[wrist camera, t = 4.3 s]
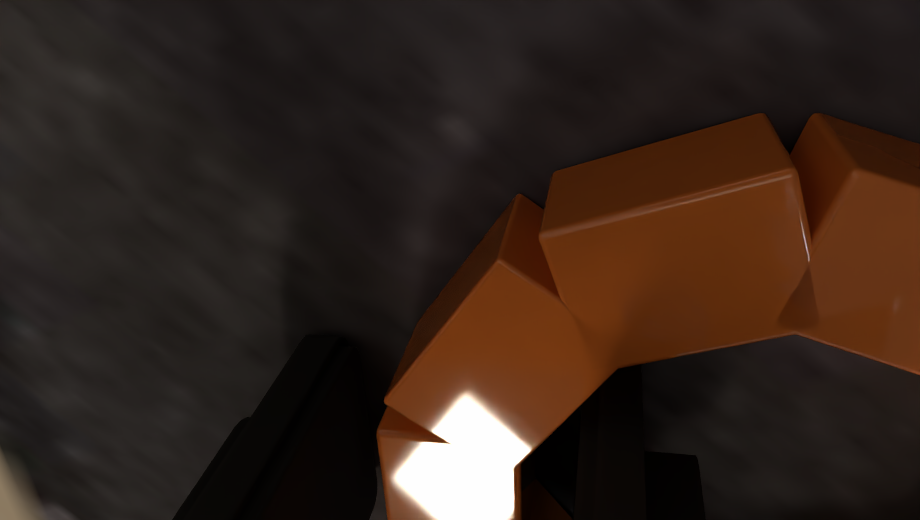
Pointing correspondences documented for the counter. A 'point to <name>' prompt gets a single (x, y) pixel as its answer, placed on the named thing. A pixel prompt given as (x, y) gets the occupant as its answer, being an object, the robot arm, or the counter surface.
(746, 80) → the counter surface
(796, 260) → the ring
